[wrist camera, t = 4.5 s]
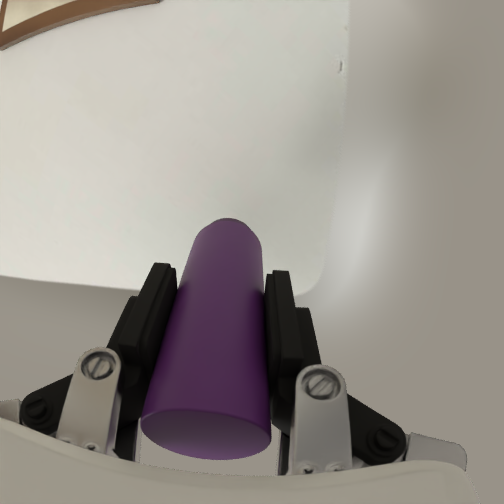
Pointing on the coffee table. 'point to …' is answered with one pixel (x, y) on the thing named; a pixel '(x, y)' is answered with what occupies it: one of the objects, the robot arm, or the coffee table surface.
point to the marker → (214, 353)
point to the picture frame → (51, 15)
